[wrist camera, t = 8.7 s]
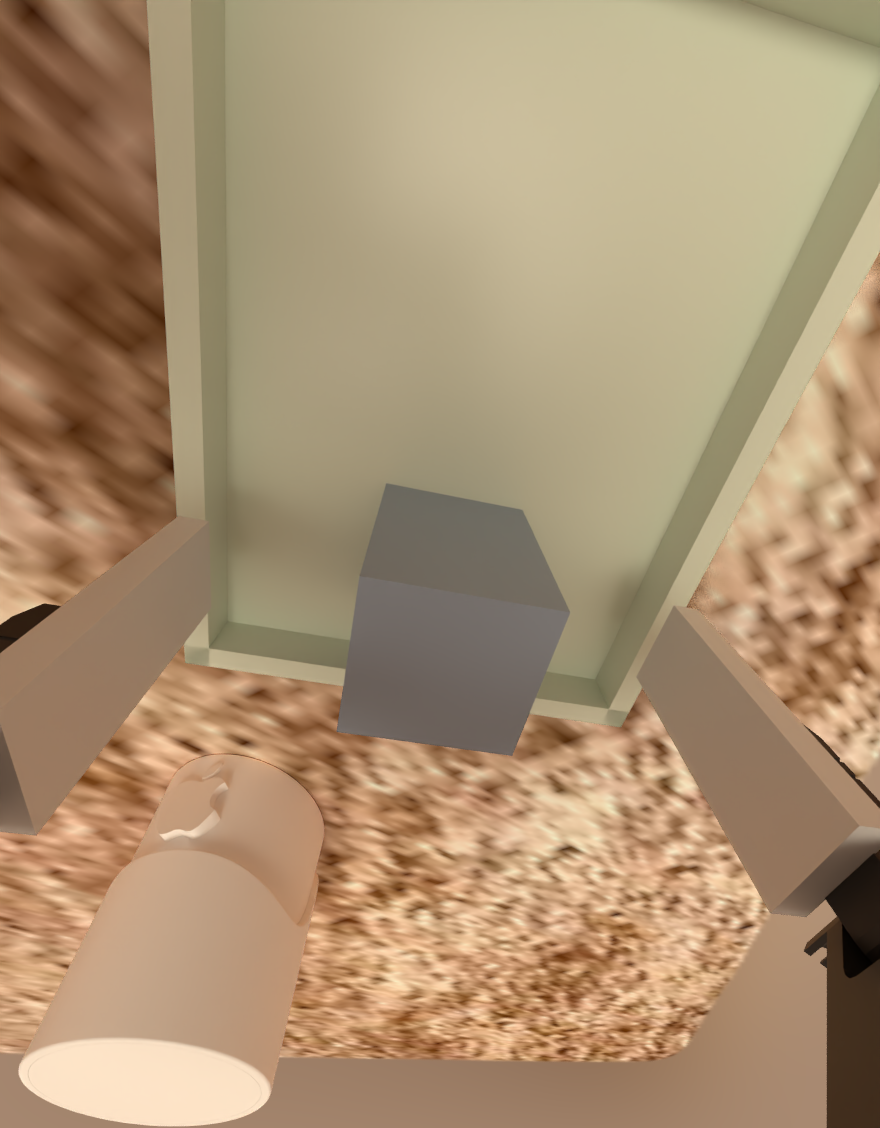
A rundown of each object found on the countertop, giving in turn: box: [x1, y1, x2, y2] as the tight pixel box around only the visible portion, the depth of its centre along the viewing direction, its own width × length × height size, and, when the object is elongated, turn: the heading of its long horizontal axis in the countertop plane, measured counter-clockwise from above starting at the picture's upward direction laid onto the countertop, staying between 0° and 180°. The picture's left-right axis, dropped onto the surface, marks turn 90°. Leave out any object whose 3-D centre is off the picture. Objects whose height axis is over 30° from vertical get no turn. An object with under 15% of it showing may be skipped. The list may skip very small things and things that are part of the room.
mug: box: [19, 754, 324, 1126], centre depth 20 cm, size 12×9×8 cm
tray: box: [146, 0, 880, 727], centre depth 13 cm, size 20×16×2 cm
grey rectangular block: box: [337, 483, 570, 756], centre depth 13 cm, size 4×4×6 cm
